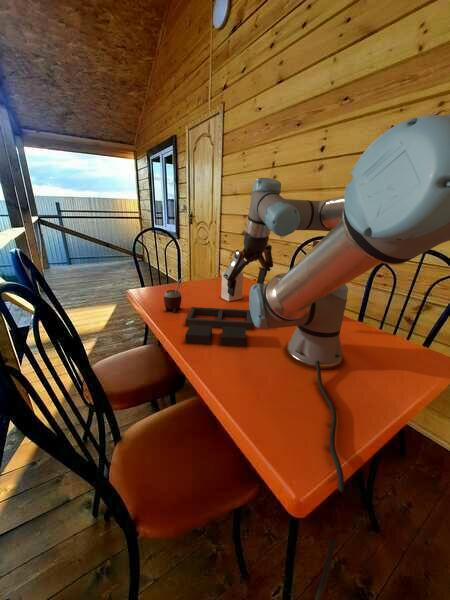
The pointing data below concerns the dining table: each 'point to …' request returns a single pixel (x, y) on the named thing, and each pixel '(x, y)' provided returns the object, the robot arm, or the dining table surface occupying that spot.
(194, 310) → the frame
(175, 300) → the mate gourd
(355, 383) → the dining table surface
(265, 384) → the dining table surface
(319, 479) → the dining table surface
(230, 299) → the small box
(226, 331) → the pad
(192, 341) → the pad
